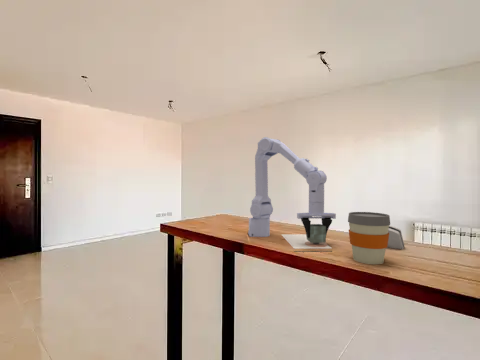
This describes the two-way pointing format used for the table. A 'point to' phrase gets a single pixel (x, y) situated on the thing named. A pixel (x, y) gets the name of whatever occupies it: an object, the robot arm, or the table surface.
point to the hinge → (395, 238)
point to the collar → (317, 233)
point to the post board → (304, 243)
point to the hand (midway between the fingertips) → (316, 237)
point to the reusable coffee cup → (368, 236)
